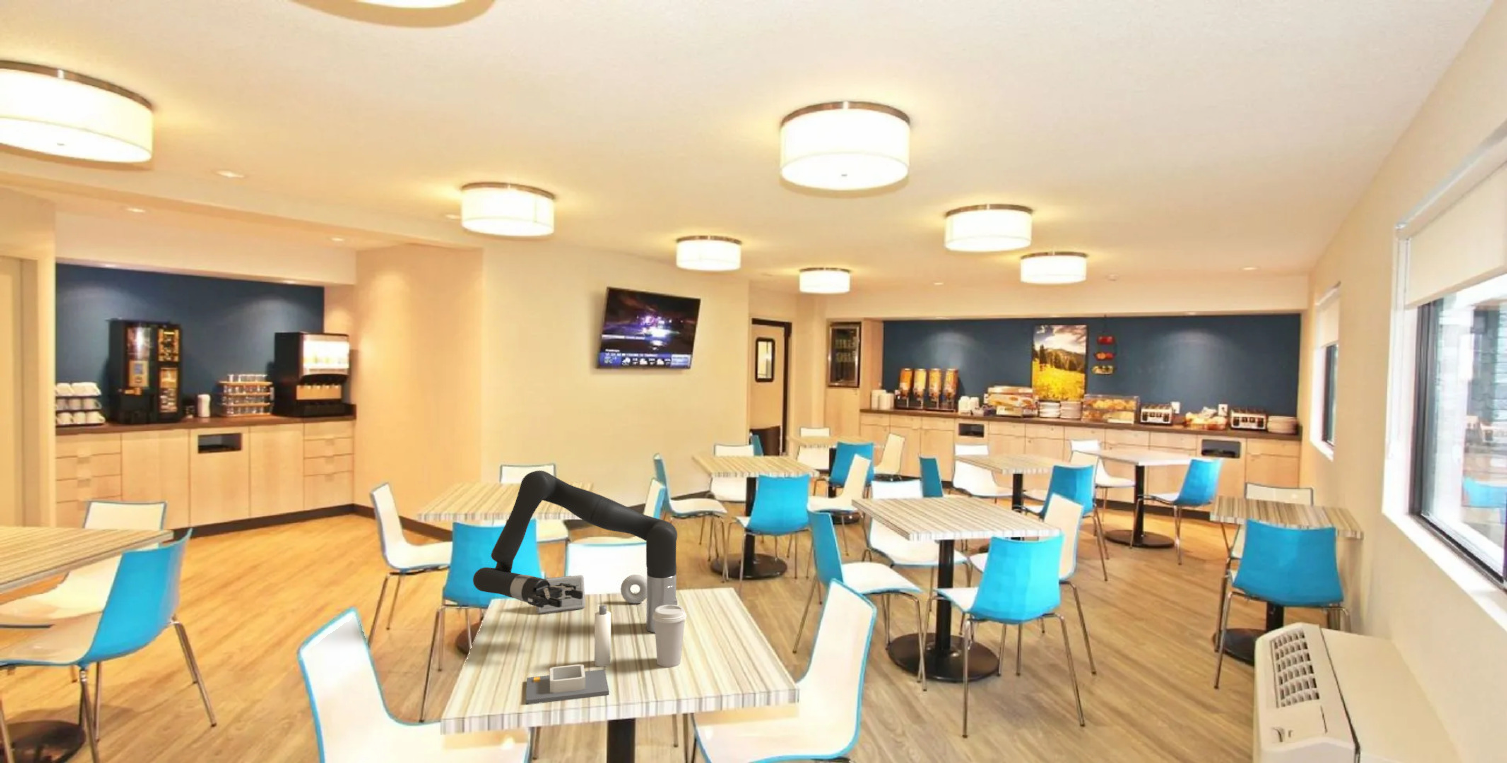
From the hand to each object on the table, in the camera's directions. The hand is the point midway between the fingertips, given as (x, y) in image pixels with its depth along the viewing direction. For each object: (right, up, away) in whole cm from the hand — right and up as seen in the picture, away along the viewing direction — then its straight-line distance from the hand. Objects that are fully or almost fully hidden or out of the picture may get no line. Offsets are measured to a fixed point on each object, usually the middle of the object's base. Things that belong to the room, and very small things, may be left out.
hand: (571, 599), depth 206 cm
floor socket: (+4, -17, -20) cm, 26 cm away
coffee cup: (+28, -17, -3) cm, 33 cm away
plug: (+10, -16, -5) cm, 20 cm away
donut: (+11, -15, +45) cm, 48 cm away
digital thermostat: (-13, -15, +37) cm, 42 cm away
